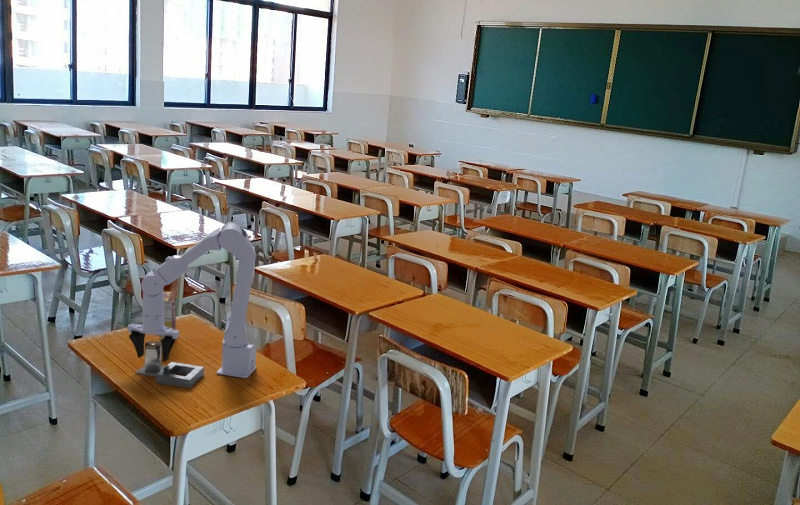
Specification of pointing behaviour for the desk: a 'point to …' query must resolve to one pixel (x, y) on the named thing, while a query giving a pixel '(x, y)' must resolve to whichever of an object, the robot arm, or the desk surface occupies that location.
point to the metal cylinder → (152, 356)
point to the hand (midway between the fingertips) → (153, 358)
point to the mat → (143, 372)
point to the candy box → (169, 311)
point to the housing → (183, 381)
